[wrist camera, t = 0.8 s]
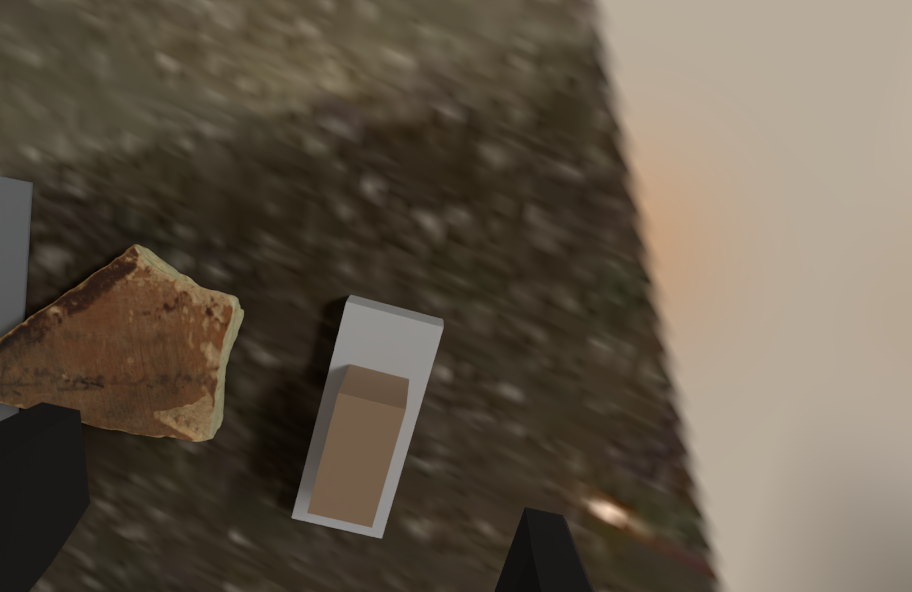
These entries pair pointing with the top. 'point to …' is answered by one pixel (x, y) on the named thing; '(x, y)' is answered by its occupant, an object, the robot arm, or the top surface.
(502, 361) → the top surface
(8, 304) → the felt mat
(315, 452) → the grout float
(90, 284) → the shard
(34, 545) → the robot arm
